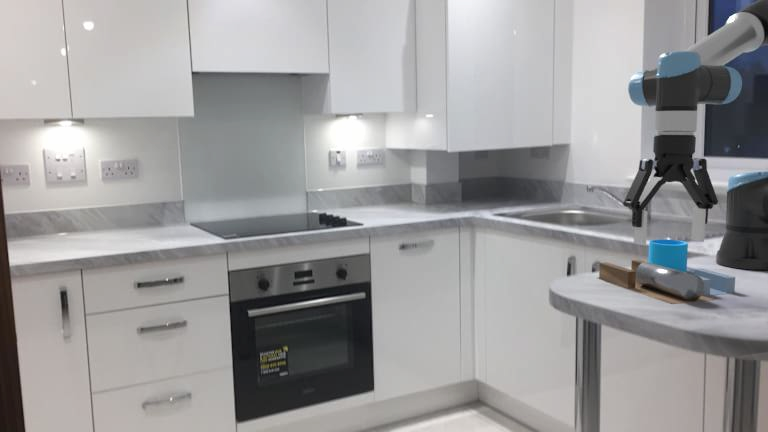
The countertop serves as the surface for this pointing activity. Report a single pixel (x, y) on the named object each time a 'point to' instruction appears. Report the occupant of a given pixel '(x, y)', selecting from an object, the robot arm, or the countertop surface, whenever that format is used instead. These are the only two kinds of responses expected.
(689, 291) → the axle
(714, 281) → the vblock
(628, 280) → the wooden channel tray
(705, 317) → the countertop surface
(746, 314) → the countertop surface
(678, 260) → the mug
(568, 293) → the countertop surface
